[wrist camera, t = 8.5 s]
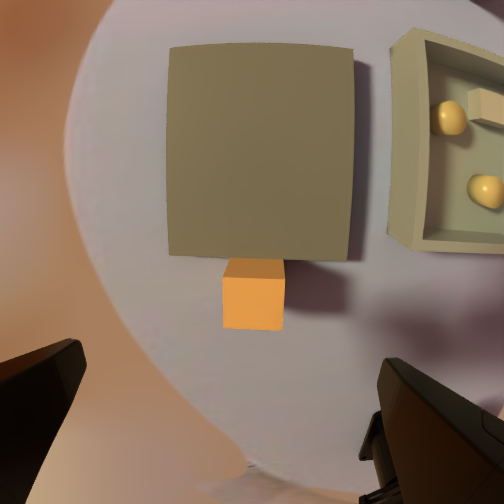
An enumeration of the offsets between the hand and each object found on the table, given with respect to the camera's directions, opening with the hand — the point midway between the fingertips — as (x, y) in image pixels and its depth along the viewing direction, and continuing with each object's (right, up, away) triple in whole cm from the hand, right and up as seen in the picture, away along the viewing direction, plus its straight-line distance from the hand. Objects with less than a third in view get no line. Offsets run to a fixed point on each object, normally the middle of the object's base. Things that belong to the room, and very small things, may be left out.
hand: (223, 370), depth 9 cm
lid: (+1, +8, +10) cm, 13 cm away
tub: (+14, +10, +9) cm, 20 cm away
